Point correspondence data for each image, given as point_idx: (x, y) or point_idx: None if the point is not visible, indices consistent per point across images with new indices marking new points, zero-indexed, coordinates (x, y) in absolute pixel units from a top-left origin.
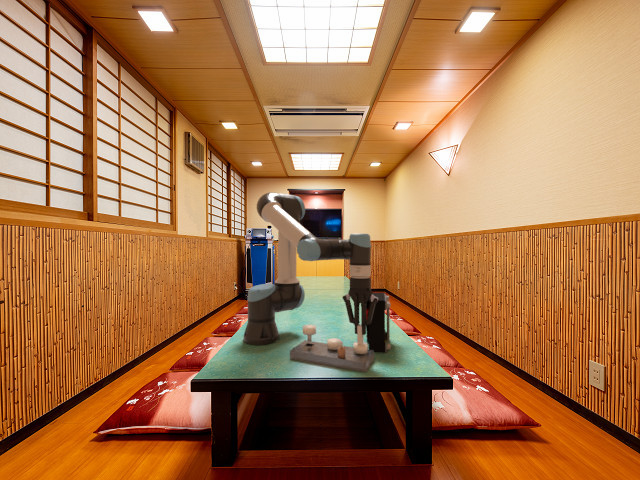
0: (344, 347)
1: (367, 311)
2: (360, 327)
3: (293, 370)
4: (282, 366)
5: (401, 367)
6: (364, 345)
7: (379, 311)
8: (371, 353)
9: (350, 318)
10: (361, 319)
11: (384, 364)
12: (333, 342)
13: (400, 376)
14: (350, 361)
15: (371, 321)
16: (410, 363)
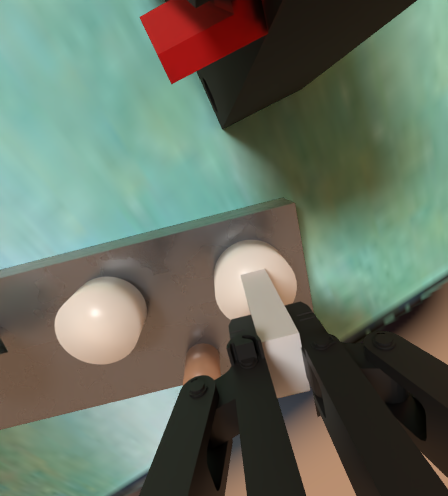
0: (211, 376)
1: (239, 43)
2: (298, 384)
3: (98, 451)
4: (45, 453)
5: (414, 210)
6: (285, 294)
7: None
8: (299, 248)
9: (210, 473)
10: (335, 445)
11: (344, 225)
12: (118, 355)
13: (424, 285)
14: None
15: (404, 341)
16: (444, 143)
